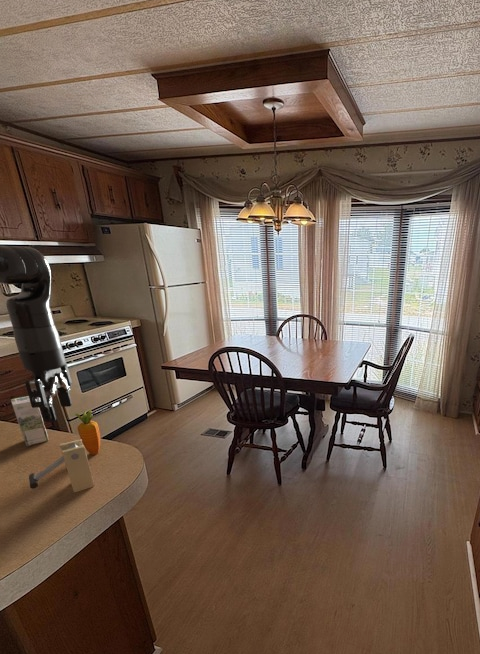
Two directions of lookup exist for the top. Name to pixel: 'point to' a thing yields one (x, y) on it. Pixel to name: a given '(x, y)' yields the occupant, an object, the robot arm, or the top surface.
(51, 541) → the top surface
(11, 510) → the top surface
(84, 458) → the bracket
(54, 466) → the lever
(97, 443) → the carrot
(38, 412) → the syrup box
